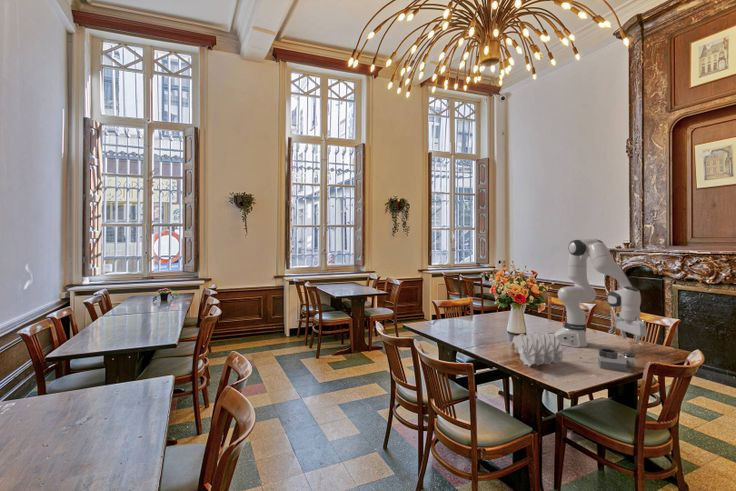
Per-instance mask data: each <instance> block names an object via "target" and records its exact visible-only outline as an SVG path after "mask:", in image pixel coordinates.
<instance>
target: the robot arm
mask: <svg viewBox="0 0 736 491" xmlns="http://www.w3.org/2000/svg"><path fill="white" fill-rule="evenodd" d="M567 247H568V248H567V249H568V252H569V255H568V260H567V277H568V279H569V280H571V281H572V282H573V284H574V286H564V287H560V289H558V291H557V297H558V300H559V301H560V302H562V304H564V307H565V309H566V321H564V320H563V321H562V326H563V327H561V328H559V329H558V330H556V331H555V333H554V334H553V335H555V337H556V338H557V339H558V340H559V341H560V343H561V346H565V347H566V346H567V347H570V348H571V347H572V348H582V347H583V348H584V347H587V346H588V341H587V336H586V333H587V323H586V320H587V319H586V315H587V314H586V311H585V310H584V309H583V308H581V306H580V303H581V304H582V303H589V302H594V300H595V299H596V298H597V292H596V290H595V289H594V288H593V287H592V286H591V284H590V282H589V280H588V274H587V272H588V271H587V268H588V266H587V264H588V263H587V261H588V258H589V257H590V260H591V263H592V265H593V267H594V269H595V270H596V271H597V272H598V273H600V274H602V275H607V276H609V277H611V278H613V279H614V280H616V281H617V283H618V285H619V286H620V289H617V290H611V291H609V292H608V293H607V295H606V301H607V302H606V303H608V305H609V306H610V307H612V308H621V311H617V312H615V314H614V316H615V319H614V322H615V323H614V325H615V328H616V329H617V330H620V333H621V338H622V339H625V340H626V339H627V334H626V333H629V334H632V335H634V337H635V338H634V339H633V343H635V344H640V339H641V338H642V337H647V334H648V333H647V332H648V331H647V330H648V329H647V325H646V323H645V321H644V319H642V318H641V309H640V307H641V304H642V300H643V298H642V296H641V295H642V294H641V292H640V290H639V289H638V288H637V287H635V286H634V285H633V283H632V282H631V280H630V278H629V276H628V275H627V274H626V272H625V270H624V269H623V267H621V266H619V265H618V263H617V262H616V261H615V259H614V258H613V255H612V254H611V252H610V249H609V248H608V247H607V245H606V244H605V243H604V242H603V241H602V240H600V239H595V238H594V239H590V238H585V239H584V238H583V239H573V240H571V241H570V242H569V243H568V246H567Z"/></svg>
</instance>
